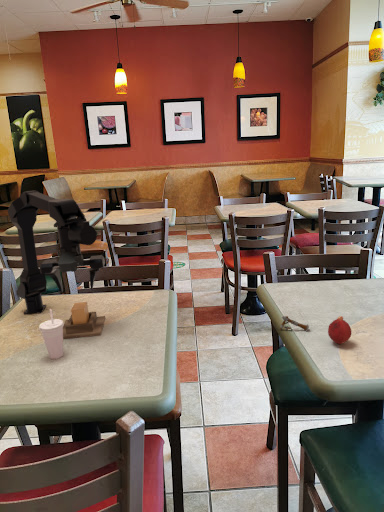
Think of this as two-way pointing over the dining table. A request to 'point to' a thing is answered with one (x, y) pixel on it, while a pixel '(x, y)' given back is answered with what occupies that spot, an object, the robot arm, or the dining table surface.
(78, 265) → the robot arm
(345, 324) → the onion
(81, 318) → the tan rectangular block
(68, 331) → the chassis
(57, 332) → the smoothie
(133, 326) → the dining table surface
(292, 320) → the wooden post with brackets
